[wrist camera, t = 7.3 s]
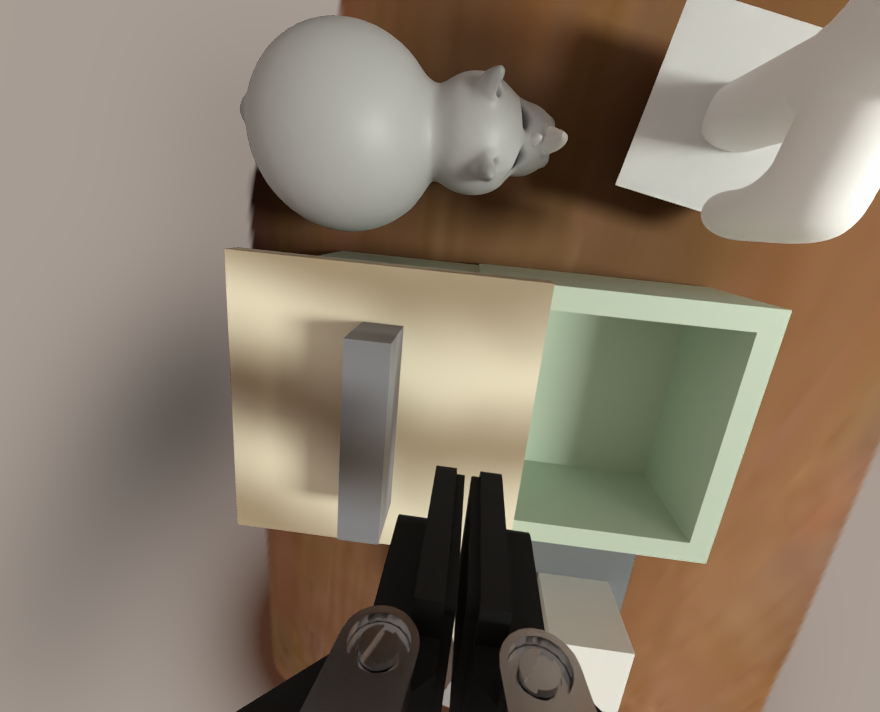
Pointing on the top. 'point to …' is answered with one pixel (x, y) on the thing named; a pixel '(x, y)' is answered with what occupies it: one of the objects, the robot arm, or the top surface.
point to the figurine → (764, 122)
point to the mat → (585, 565)
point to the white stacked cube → (589, 633)
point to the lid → (374, 387)
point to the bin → (637, 409)
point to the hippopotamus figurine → (381, 125)
